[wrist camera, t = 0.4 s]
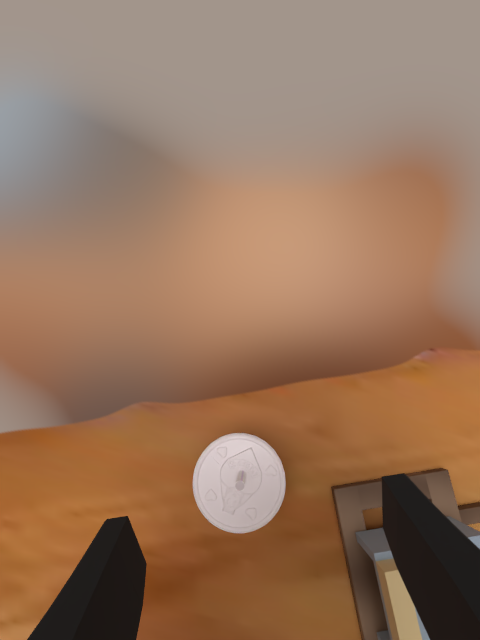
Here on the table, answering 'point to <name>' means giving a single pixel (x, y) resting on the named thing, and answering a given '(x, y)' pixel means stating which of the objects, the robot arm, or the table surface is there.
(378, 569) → the cover
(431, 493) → the puzzle board
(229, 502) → the smoothie
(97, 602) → the robot arm
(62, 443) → the table surface
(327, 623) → the table surface
